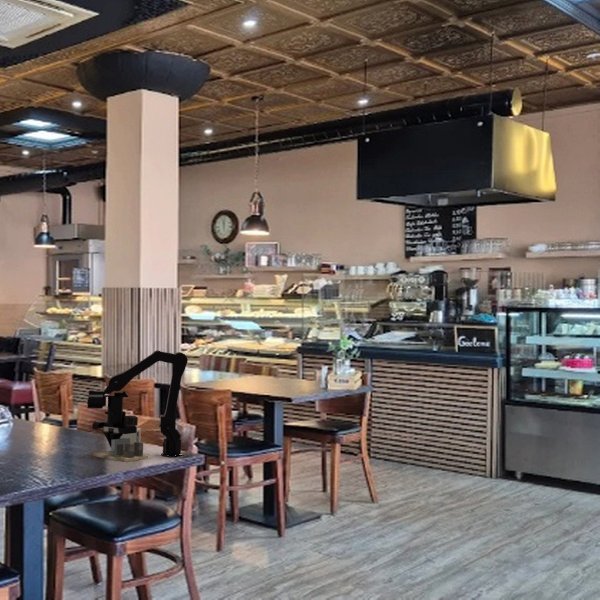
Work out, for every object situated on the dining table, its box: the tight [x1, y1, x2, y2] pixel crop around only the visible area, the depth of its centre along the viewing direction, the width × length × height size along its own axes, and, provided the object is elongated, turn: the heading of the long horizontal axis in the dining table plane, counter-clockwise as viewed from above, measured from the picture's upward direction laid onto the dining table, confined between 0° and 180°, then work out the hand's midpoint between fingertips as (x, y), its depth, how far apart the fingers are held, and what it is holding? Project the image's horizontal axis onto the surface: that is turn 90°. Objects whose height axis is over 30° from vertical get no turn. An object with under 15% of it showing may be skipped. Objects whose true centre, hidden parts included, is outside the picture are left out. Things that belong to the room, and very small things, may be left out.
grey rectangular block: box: [106, 438, 135, 455], centre depth 296 cm, size 8×9×6 cm
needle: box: [117, 444, 123, 456], centre depth 292 cm, size 2×2×4 cm
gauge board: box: [89, 442, 149, 463], centre depth 299 cm, size 20×11×6 cm, turn 55°
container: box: [120, 414, 142, 444], centre depth 319 cm, size 8×8×13 cm
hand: (113, 450), depth 300 cm, fingers closed
